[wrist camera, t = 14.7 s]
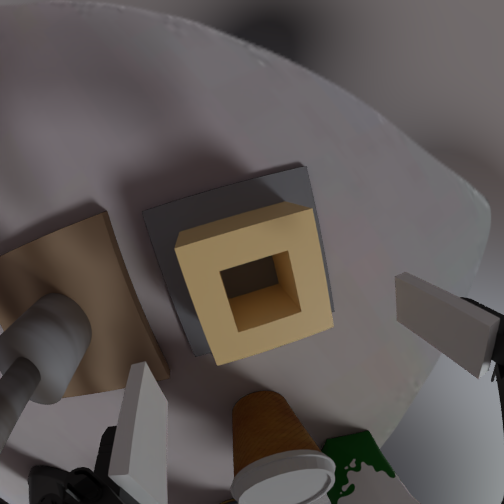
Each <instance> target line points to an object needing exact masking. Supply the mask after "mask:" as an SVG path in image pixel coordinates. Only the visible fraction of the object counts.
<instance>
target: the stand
mask: <svg viewBox="0 0 504 504" xmlns="http://www.w3.org/2000/svg"><path fill="white" fill-rule="evenodd" d="M0 324H1V326H2V328H3V330H4V332H3V333H2V334H1V335H0V371H1V373H2V375H3V376H2V378H1V379H0V454H1V452H2V450H3V448H4V445H5V443H6V441H7V439H8V438H9V436H10V434H11V432H12V430H13V428H14V426H15V424H16V422H17V420H18V419H19V417H20V415H21V413H22V411H23V410H24V408H25V406H26V404H27V403H28V401H29V400H31V401H33V402H36V403H39V404H45V405H49V404H54V403H57V402H58V401H60V400H61V398H66V397H73V396H81V395H87V394H94V393H100V392H106V391H111V390H117V389H122V388H126V384H127V380H128V376H129V372H130V368H131V365H132V364H136V363H140V362H144V361H146V363H147V365H148V367H149V369H150V371H151V372H152V374H153V376H154V378H155V380H156V381H161V380H165V379H169V378H170V368H169V366H168V364H167V362H166V360H165V358H164V356H163V354H162V352H161V349H160V347H159V345H158V343H157V341H156V339H155V337H154V334H153V332H152V330H151V328H150V325H149V323H148V321H147V319H146V316H145V314H144V312H143V309H142V307H141V304H140V302H139V300H138V297H137V295H136V292H135V290H134V287H133V284H132V282H131V279H130V277H129V274H128V271H127V269H126V266H125V263H124V260H123V258H122V255H121V252H120V249H119V246H118V243H117V240H116V237H115V234H114V231H113V228H112V225H111V222H110V219H109V215H108V212H107V211H106V212H103V213H100V214H98V215H95V216H92V217H90V218H87V219H85V220H82V221H80V222H77V223H75V224H72V225H70V226H67V227H65V228H62V229H60V230H57V231H55V232H53V233H50V234H48V235H46V236H43V237H41V238H39V239H36V240H34V241H32V242H30V243H27V244H25V245H23V246H21V247H19V248H16V249H14V250H12V251H10V252H8V253H6V254H4V255H2V256H0Z"/></svg>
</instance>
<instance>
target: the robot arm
mask: <svg viewBox="0 0 504 504" xmlns="http://www.w3.org/2000/svg"><path fill="white" fill-rule="evenodd" d="M395 288H396V309H397V321H399V322H400V323H401V324H403V325H404V326H406V327H407V328H408V329H410V330H411V331H413V332H414V333H415V334H417V335H418V336H420V337H421V338H423V339H424V340H425V341H427V342H428V343H429V344H431V345H432V346H434V347H435V348H436V349H438V350H439V351H441V352H442V353H443V354H445V355H446V356H447V357H449V358H450V359H452V360H453V361H454V362H456V363H457V364H458V365H460V366H461V367H463V368H464V369H465V370H467V371H468V372H469V373H471V374H472V375H473V376H475V377H476V378H477V379H479V378H480V377H481V376H483V375H484V374H485V373H486V372H487V371H488V370H489V367H490V363H491V360H493V361H494V362H496V365H495V368H494V371H493V375H492V378H491V382H493V381H494V377H495V376H496V378H497V380H496V381H497V383H498V390H499V396H500V403H501V411H502V420H503V430H504V315H502V314H500V313H498V312H496V311H494V310H492V309H490V308H488V307H485V306H484V305H482V304H479V303H478V302H476V301H474V300H472V299H469V298H464V297H460V298H459V297H457V296H455V295H453V294H451V293H449V292H447V291H445V290H443V289H441V288H439V287H437V286H435V285H432V284H430V283H428V282H426V281H424V280H422V279H420V278H418V277H415V276H413V275H411V274H409V273H407V272H404V273H402V274H399V275H397V276H395ZM167 419H168V401H167V399H166V398H165V396H164V394H163V392H162V391H161V389H160V387H159V385H158V384H157V382H156V380H155V378H154V376H153V374H152V372H151V371H150V369H149V367H148V365H147V363H146V361H144V362H140V363H136V364H132V365H131V368H130V372H129V376H128V380H127V384H126V388H125V392H124V397H123V401H122V405H121V410H120V414H119V419H118V424H117V426H111V427H108V428H107V429H106V431H105V432H104V434H103V435H102V438H101V442H100V447H99V451H98V454H99V455H97V460H96V464H95V469H94V472H93V471H91V470H90V469H89V468H85V467H81V468H76V469H74V470H72V471H71V472H70V473H67V472H64V471H62V470H59V469H55V468H52V467H47V466H34V467H32V468H31V470H30V473H29V476H28V485H29V504H168V496H167ZM0 504H9V503H7V502H6V501H4V500H3V499H2V498H0ZM501 504H504V498H503V501H502V503H501Z"/></svg>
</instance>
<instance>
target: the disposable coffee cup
mask: <svg viewBox="0 0 504 504" xmlns="http://www.w3.org/2000/svg"><path fill="white" fill-rule="evenodd" d="M232 424H233V462H234V480H233V483H232V485H231V495H232V497H233V498H234V499H235V500H236V501H237V502H238V504H310V503H312V502H314V501H316V500H318V499H319V498H321V497H322V496H323V495H325V494H326V493H327V492H328V491H329V490H330V489H331V488H332V486H333V485H334V483H335V475H334V472H335V463H334V462H333V460H332V459H331V458H330V457H328V456H326V455H325V454H324V453H322V452H321V450H320V449H319V447H318V446H317V445H316V443H315V442H314V441H313V439H312V438H311V437H310V435H309V434H308V433H307V431H306V429H305V428H304V426H303V425H302V423H301V422H300V421H299V419H298V418H297V416H296V415H295V413H294V412H293V411H292V409H291V408H290V406H289V405H288V403H287V402H286V400H285V399H284V397H283V396H281V395H280V394H278V393H276V392H272V391H259V392H254V393H251V394H248V395H247V396H245V397H243V398H242V399H240V400H239V401H238V402H237V403H236V405H235V406H234V408H233V411H232Z"/></svg>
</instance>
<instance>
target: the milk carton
mask: <svg viewBox="0 0 504 504" xmlns="http://www.w3.org/2000/svg"><path fill="white" fill-rule="evenodd" d="M321 452H322V453H324V454H325V455H326V456H328V457H330V458H331V459H332V460H333V462H334V463H335V472H334V475H335V483H334V485H333V486H332V488H331V489H330V490H329V491H328V492H327V495H328V497H329V499H330V501H331V504H421V503H420V502H419V501H417V500H416V499H415V498H414V497H413V496H412V495H411V494H410V493H409V491H408V490H407V489H406V487H405V486H404V484H403V483H402V482H401V480H400V479H399V477H398V476H397V474H396V473H395V471H394V470H393V469H392V467H391V466H390V465H389V463H388V462H387V460H386V459H385V457H384V456H383V454H382V453H381V451H380V449H379V447H378V446H377V444H376V442H375V440H374V439H373V437H372V435H371V434H370V432H369V431H364V432H360V433H356V434H351V435H347V436H342V437H337V438H332V439H327V440H326V442H325V445H324V447H323V449H322V451H321Z"/></svg>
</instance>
